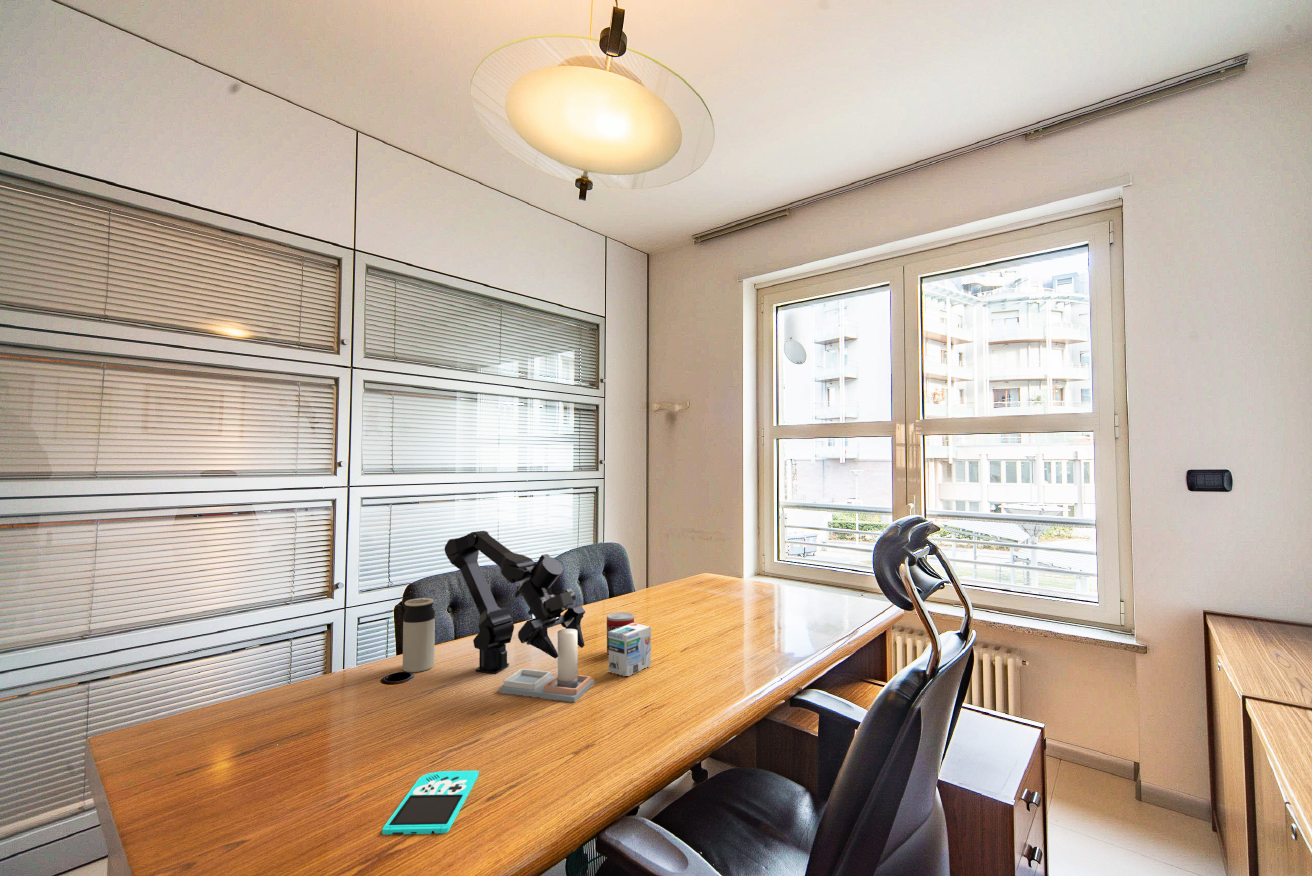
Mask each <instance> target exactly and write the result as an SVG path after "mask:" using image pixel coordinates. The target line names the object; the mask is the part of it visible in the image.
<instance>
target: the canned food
mask: <svg viewBox="0 0 1312 876" xmlns="http://www.w3.org/2000/svg"><path fill="white" fill-rule="evenodd" d="M631 623H635V615H634V613H631V612H627V611H626V612H624V611H623V612H622V611H617V612H611V613H609V614H607V615H606V653H607V655H608V654H609V631H612V630H614V629H617V628H620V627H623V626H626V625H629V624H631Z"/></svg>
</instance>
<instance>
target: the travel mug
mask: <svg viewBox="0 0 1312 876" xmlns="http://www.w3.org/2000/svg"><path fill="white" fill-rule="evenodd" d="M434 602H435V600H434V599H433V598H432V597H431V598H430V597H421V598H412V599H408V600H405V602H404V603H403V604H404V605H405V610H404V613H403V617H402V620H403V621H402V624H403V625H402V671H405V672H406V673H421V672H425V671H427V670H430V669H431V668H433V667H434V666H435V639H436V638H435V637H436V635H435V634H436V632H435V631H436V630H435V628H436V627H435V625H436V624H435V623H436V614H435V613H436V610H435V609H434V608H433V604H434Z"/></svg>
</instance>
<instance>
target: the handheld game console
mask: <svg viewBox="0 0 1312 876" xmlns="http://www.w3.org/2000/svg"><path fill="white" fill-rule="evenodd" d="M479 772H480V771H479V770H441V771H434V772H430V773H426V774H423V775H421V776H420V777H419V778H417V780H416V782H415V783H414V785H413V786H412V788H411V789H410V790H409V791H408V793H407V794H406V796H405V797H404V798H403V799H402V801H401V803H400V804H399V805H398V806H397V808H396V810H395V811H393V814H392V815H391V816H390V817H389V819H388V820H387V821H386V823H385V825H384V826H383V827H382V831H381V833H382V835H385V834H386V835H396V836H397V835H398V836H399V835H400V836H401V834H402V835H420V834H421V835H426V834H427V835H428V834H429V835H430V834H433V832H434V834H447V833H448V832H449V831H450V829H451V827H452V826H453V823H454V822H455V820H456V818H457V817H458V815H459V812H460V811H461V809H462V807H463V805H464V803H465V802H466V800H467V798H468V797H469V794H470V792H471V790H472V789H473V787H474V785H475V783H476V782H477V779H478V778H479V776H480V773H479Z"/></svg>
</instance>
